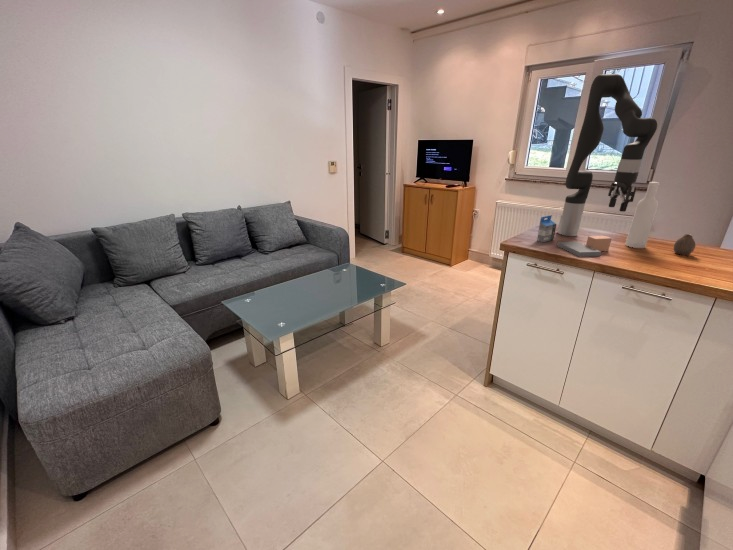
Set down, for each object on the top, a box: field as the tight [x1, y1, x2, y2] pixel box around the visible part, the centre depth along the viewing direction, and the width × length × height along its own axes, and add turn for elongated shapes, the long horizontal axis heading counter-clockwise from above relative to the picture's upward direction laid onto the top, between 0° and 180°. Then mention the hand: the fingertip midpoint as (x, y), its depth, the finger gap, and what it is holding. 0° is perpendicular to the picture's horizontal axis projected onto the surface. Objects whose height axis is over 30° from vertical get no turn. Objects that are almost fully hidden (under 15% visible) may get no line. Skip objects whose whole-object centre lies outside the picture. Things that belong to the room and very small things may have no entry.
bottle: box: [624, 181, 661, 249], centre depth 155 cm, size 8×8×30 cm
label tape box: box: [536, 214, 557, 243], centre depth 169 cm, size 9×4×12 cm, turn 120°
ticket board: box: [556, 240, 602, 257], centre depth 155 cm, size 16×10×2 cm, turn 5°
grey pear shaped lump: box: [673, 234, 696, 256], centre depth 148 cm, size 7×7×9 cm
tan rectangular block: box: [585, 235, 612, 252], centre depth 155 cm, size 4×8×6 cm, turn 95°
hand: (616, 209), depth 146 cm, fingers open, 8 cm apart
